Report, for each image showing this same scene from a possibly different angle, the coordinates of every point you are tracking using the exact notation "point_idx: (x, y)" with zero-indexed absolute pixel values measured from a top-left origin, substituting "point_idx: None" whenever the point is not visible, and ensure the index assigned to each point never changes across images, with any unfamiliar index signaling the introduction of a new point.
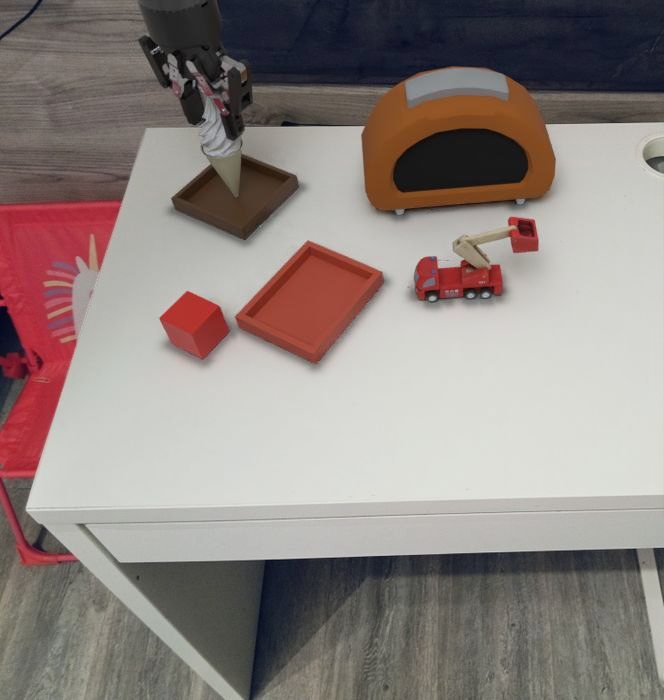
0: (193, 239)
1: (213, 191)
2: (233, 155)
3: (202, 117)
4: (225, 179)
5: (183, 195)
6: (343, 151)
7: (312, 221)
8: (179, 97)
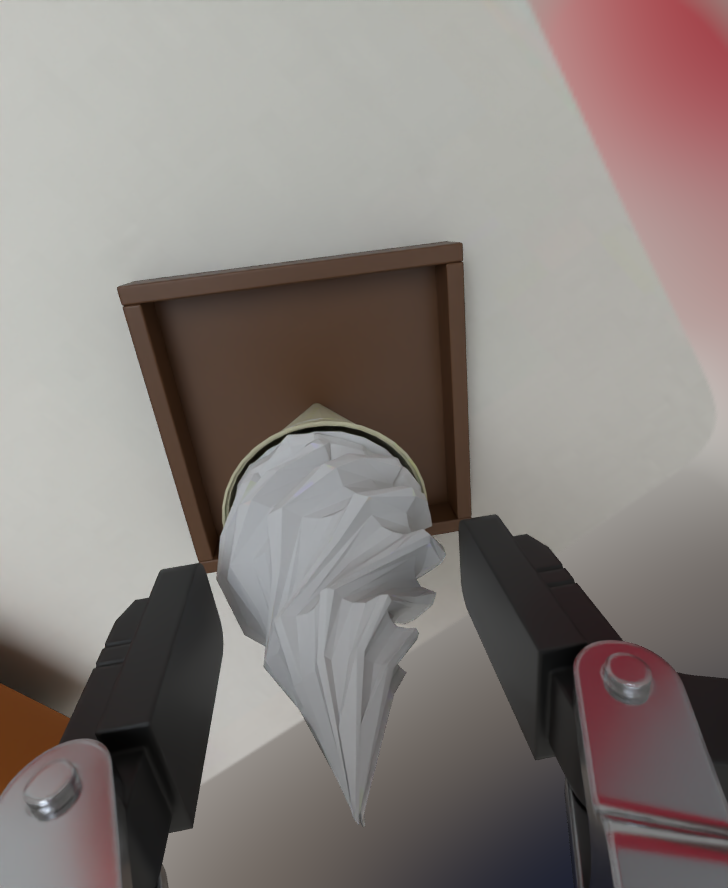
0: (279, 167)
1: (395, 379)
2: (229, 504)
3: (382, 596)
4: (305, 413)
5: (444, 290)
6: (232, 693)
7: (48, 476)
8: (588, 650)
